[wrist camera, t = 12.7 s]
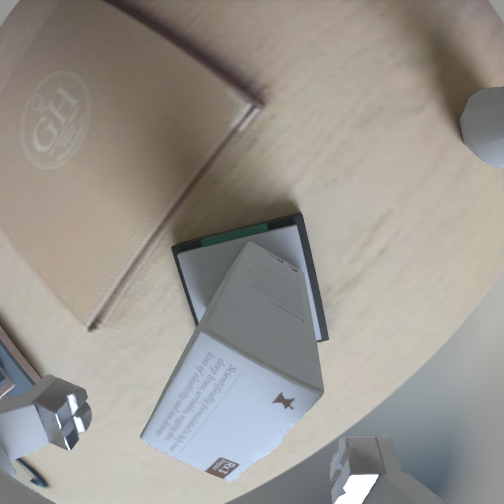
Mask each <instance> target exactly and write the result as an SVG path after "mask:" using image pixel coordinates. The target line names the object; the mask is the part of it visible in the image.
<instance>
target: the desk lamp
mask: <svg viewBox="0 0 504 504" xmlns="http://www.w3.org/2000/svg"><path fill="white" fill-rule="evenodd" d="M41 379H42V378H41V377H40V376H39V375H38V374H37V373H36V371H35V370H34V369H33V368H32V367H31V365H30V364H29V363H28V362H27V360H26V359H25V358H24V357H23V355H22V354H21V353H20V352H19V350H18V349H17V348H16V346H15V345H14V344H13V342H12V341H11V340H10V338H9V337H8V336H7V334H6V333H5V332H4V330H3V329H2V327H1V326H0V400H1V399H5V398H9V397H14V396H18V395H19V396H21V397H22V396H23V395H24V394H25V393H26V392H27V391H28V390H30V389H31V388H32V387H33V386H34V385H35V384H36V383H38V382H39V381H40V380H41Z"/></svg>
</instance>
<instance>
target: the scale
mask: <svg viewBox="0 0 504 504" xmlns="http://www.w3.org/2000/svg"><path fill="white" fill-rule="evenodd" d="M249 241H252V242H254V243H256V244H257V245H259V246H261V247H263V248H264V249H266V250H268V251H269V252H271V253H273V254H274V255H276V256H278V257H279V258H281V259H283V260H284V261H286V262H288V263H289V264H291V265H293V266H294V267H296V268H298V269H299V270H301V271H302V272H303V273H304V275H305V280H306V286H307V291H308V296H309V302H310V308H311V313H312V319H313V325H314V331H315V336H316V342H322V341H326V340H329V337H328V332H327V327H326V321H325V316H324V311H323V306H322V301H321V296H320V291H319V287H318V282H317V277H316V272H315V268H314V263H313V259H312V254H311V250H310V245H309V241H308V236H307V232H306V228H305V224H304V219H303V215H302V214H301V213H299V214H294V215H290V216H286V217H282V218H278V219H274V220H269V221H265V222H261V223H257V224H253V225H249V226H245V227H241V228H237V229H233V230H229V231H225V232H221V233H217V234H213V235H209V236H205V237H202V238H198V239H194V240H190V241H186V242H182V243H178V244H176V245H174V246H172V247H171V248H172V252H173V255H174V258H175V262H176V265H177V268H178V272H179V275H180V278H181V281H182V284H183V287H184V291H185V294H186V297H187V300H188V303H189V306H190V309H191V312H192V315H193V318H194V321H195V324H196V327H197V326H198V324H199V322H200V320H201V318H202V316H203V314H204V313H205V311H206V309H207V307H208V305H209V303H210V302H211V300H212V298H213V296H214V294H215V293H216V291H217V289H218V287H219V286H220V284H221V282H222V280H223V279H224V277H225V275H226V274H227V272H228V270H229V269H230V267H231V266H232V264H233V263H234V261H235V259H236V258H237V256H238V255H239V253H240V252H241V251H242V249H243V248H244V246H245V245H246V243H247V242H249Z"/></svg>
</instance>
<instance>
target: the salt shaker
mask: <svg viewBox="0 0 504 504" xmlns="http://www.w3.org/2000/svg"><path fill="white" fill-rule="evenodd" d="M459 121H460V126H461V131H462V136H463V142H464V144H465V145H466V146H467V147H468V148H470V149H471V150H472V151H473V152H474V153H475V154H476V155H477V156H478V157H479V158H480V159H481V160H483V161H484V162H486V163H488V164H489V165H491V166H493V167H496V168H502V167H504V87H493V88H482V89H480V90H479V91H478V92H476V93H475V94H473V95H472V96H471V97H469V99H468V102H467V104H466V107H465V109H464V111H463V113H462V115H461V117H460V119H459Z"/></svg>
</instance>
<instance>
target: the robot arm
mask: <svg viewBox="0 0 504 504" xmlns="http://www.w3.org/2000/svg"><path fill="white" fill-rule="evenodd" d="M87 398H88V396H87V393H86V390H85V389H83V388H81V387H79V386H76V385H74V384H72V383H69V382H67V381H64V380H62V379H59V378H57V377H55V376H53V375H46V376H44V377H43V378H42V379H41V380H40V381H39V382H38V383H36V384H35V385H34V386H33V387H32V388H31V389H30V390H28V391H27V392H26V393H25V394H24V395H23V396H22V397H21V396H19V395H18V396H14V397H9V398H5V399H1V400H0V504H56V503H54V502H53V501H51V500H49V499H47V498H45V497H44V496H42V495H40V494H39V493H37V492H35V491H34V490H32V489H30V488H29V487H27V486H25V485H24V484H22V483H21V482H19V481H18V480H16V479H15V478H14V477H15V475H16V470H15V468H14V467H13V465H12V463H11V462H10V461H12V460H15V459H17V458H19V457H22V456H24V455H26V454H29V453H31V452H33V451H35V450H38V449H40V448H42V447H44V446H47V445H49V444H50V443H52V444H54V445H57V446H59V447H61V448H63V449H65V450H68V451H71V449H72V448H73V447H74V446H75V444H76V443H77V442H78V440H79V434H80V433H83V432H85V431H86V430H87V429H88V427H89V425H90V422H91V419H92V412H91V408H90V406H89V405H88V404H87V403H86V400H87ZM338 449H339V451H338V452H337V453H335V454H334V456H333V458H332V461H331V467H330V481H331V482H332V483H333V484H334V487H333V489H332V491H331V496H332V504H448V503H447V502H445V501H444V500H442V499H441V498H440V497H438V496H437V495H436V494H434V493H433V492H431V491H430V490H429V489H428V488H426V487H425V486H424V485H422V484H421V483H419V482H418V481H417V480H416V479H414V478H413V477H412V476H411V475H409V474H408V473H402V470H401V467H400V463H399V460H398V457H397V454H396V451H395V448H394V445H393V442H392V439H391V437H390V436H374V437H373V436H365V437H363V436H362V437H342V438H341V439H340V441H339V443H338Z"/></svg>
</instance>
